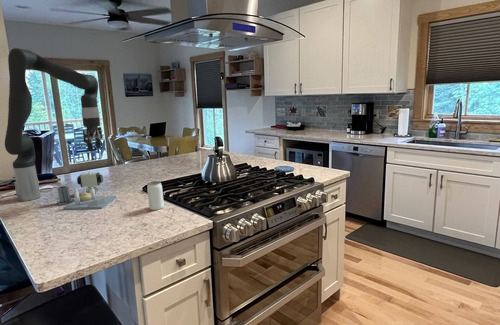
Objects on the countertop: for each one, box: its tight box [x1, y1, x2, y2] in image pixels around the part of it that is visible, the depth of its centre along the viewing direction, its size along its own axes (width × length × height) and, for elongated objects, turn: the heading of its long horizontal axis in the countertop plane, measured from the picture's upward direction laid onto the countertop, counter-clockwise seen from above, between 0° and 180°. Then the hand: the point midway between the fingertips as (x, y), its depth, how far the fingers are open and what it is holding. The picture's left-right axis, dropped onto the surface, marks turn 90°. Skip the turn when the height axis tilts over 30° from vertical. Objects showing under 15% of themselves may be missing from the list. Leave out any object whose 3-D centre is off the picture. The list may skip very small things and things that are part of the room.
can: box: [146, 180, 165, 211], centre depth 144 cm, size 6×6×12 cm
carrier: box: [62, 187, 117, 211], centre depth 153 cm, size 18×16×8 cm
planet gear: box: [55, 185, 75, 206], centre depth 156 cm, size 8×8×8 cm
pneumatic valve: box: [76, 171, 104, 194], centre depth 170 cm, size 6×12×12 cm, turn 102°
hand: (94, 149), depth 158 cm, fingers open, 8 cm apart
